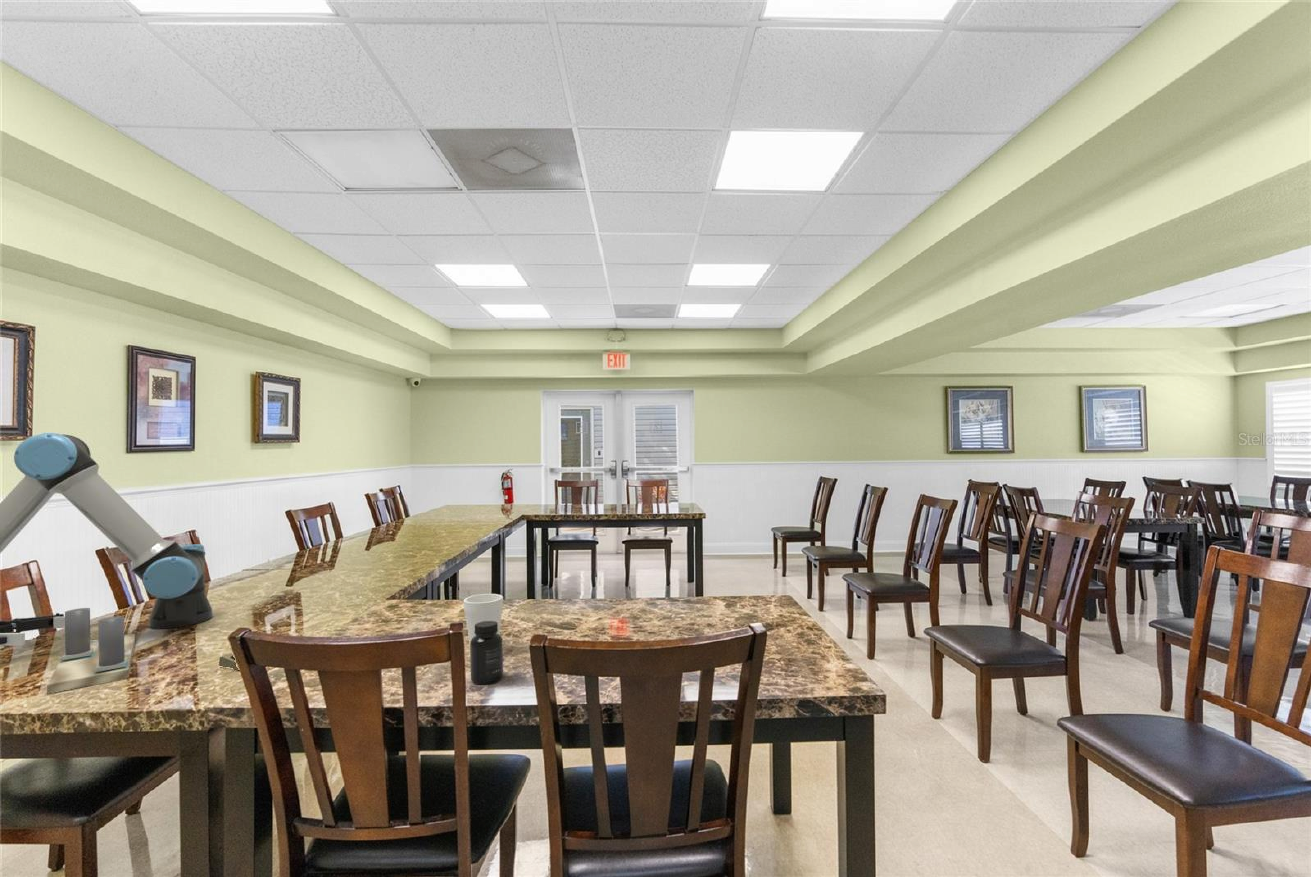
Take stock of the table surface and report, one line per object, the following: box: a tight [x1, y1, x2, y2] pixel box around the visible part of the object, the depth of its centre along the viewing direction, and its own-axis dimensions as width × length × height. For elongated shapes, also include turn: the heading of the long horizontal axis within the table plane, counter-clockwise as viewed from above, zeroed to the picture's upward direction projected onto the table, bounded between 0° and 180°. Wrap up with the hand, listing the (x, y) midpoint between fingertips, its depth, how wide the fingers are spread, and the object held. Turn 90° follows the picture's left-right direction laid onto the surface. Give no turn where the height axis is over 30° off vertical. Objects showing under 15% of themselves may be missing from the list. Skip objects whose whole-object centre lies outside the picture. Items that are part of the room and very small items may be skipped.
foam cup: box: [462, 593, 504, 644], centre depth 149 cm, size 10×9×13 cm
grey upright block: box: [61, 607, 93, 660], centre depth 146 cm, size 5×5×11 cm
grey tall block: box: [96, 615, 127, 672], centre depth 137 cm, size 5×5×11 cm
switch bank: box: [46, 633, 137, 695], centre depth 146 cm, size 13×36×2 cm, turn 39°
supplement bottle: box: [469, 621, 504, 686], centre depth 131 cm, size 7×7×12 cm
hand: (53, 630), depth 146 cm, fingers open, 13 cm apart
